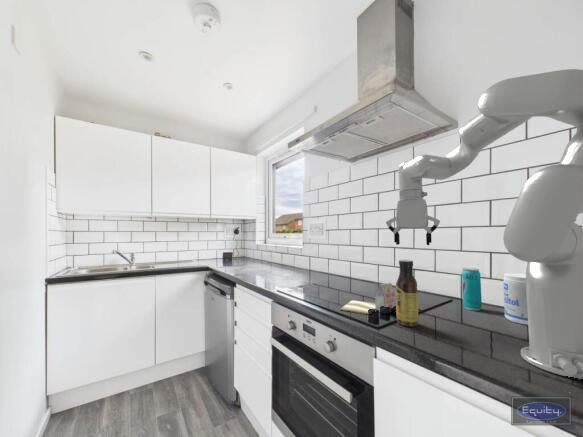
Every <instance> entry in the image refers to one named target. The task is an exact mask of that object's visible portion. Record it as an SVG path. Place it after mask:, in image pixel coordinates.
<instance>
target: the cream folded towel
mask: <svg viewBox="0 0 583 437" xmlns="http://www.w3.org/2000/svg"><path fill="white" fill-rule="evenodd" d="M369 309H376V307H375V302H369V301H367V302H366V301H363V300H362V301H360V300H354V299H352V300H350V301H349V302H348V303H346V304H345V305H343V306H342V307H340V309H339V310H340V311H341V310H343V311H342V312H347V311H350V312H349V313H354V312H355V313H356V314H360V313H361V314H360V315H366V314H368V310H369Z"/></svg>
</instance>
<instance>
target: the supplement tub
mask: <svg viewBox="0 0 583 437" xmlns="http://www.w3.org/2000/svg"><path fill="white" fill-rule="evenodd" d="M503 302H504V303H503V304H504V317H505V318H506V319H507V320H508V321H510V322H513V323H516V324H520V325H525V326H528V313H527V296H526V273H517V272H516V273H513V272H510V273H509V272H508V273H507V272H505V273H504V275H503Z"/></svg>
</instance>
